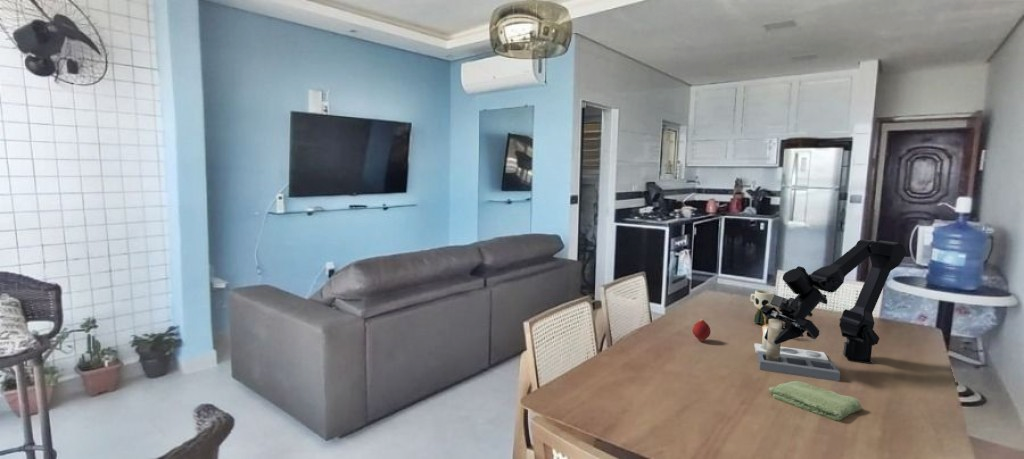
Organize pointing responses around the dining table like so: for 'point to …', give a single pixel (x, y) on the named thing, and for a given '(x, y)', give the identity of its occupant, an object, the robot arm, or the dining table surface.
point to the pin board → (800, 366)
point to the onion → (701, 330)
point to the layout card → (790, 350)
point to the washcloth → (816, 399)
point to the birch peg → (773, 333)
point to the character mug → (762, 303)
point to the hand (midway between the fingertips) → (770, 341)
